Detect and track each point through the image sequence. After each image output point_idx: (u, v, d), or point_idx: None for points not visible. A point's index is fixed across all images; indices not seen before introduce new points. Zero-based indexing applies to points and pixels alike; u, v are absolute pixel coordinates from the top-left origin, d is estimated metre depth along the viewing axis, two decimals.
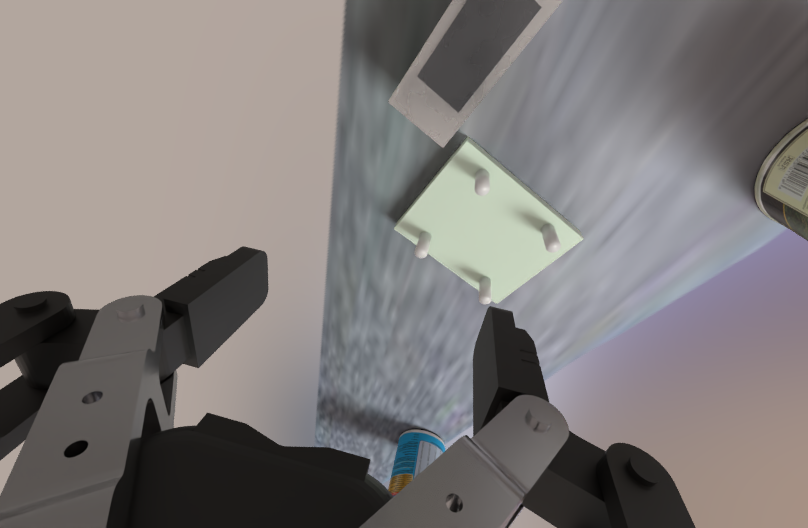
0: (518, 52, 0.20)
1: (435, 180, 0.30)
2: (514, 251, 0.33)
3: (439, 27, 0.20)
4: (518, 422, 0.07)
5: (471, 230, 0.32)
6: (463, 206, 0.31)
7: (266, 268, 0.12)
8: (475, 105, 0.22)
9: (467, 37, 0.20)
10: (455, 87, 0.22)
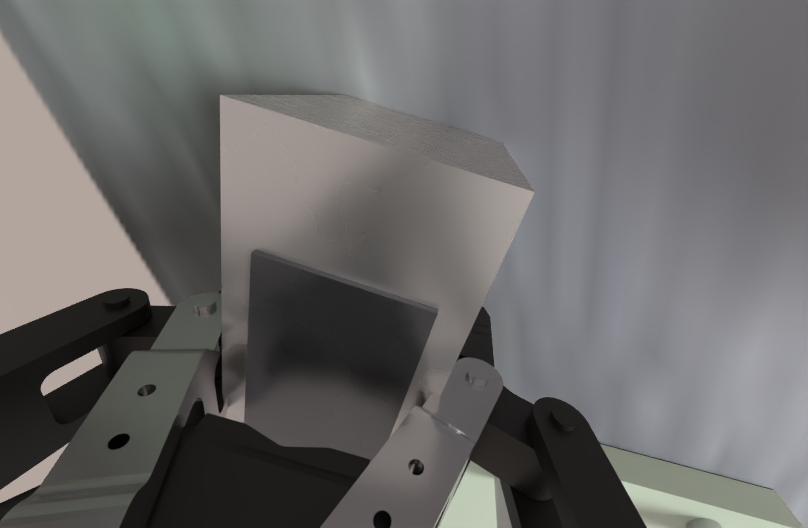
0: None
1: None
2: None
3: (230, 387, 0.08)
4: (460, 383, 0.07)
5: None
6: None
7: None
8: None
9: (293, 397, 0.08)
10: None
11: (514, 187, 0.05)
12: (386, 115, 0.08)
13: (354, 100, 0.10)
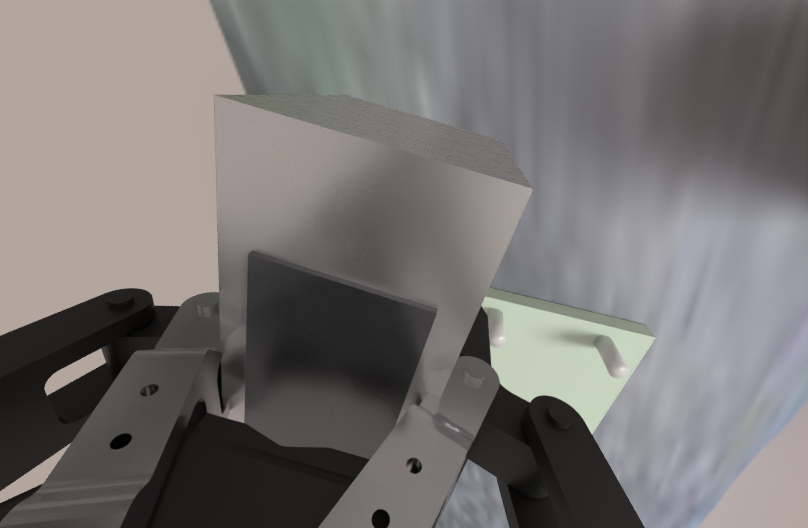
0: None
1: None
2: (577, 376, 0.26)
3: (229, 389, 0.08)
4: (457, 382, 0.08)
5: (513, 370, 0.27)
6: (491, 349, 0.27)
7: None
8: None
9: (293, 399, 0.08)
10: None
11: (512, 184, 0.05)
12: (384, 114, 0.08)
13: (352, 100, 0.10)
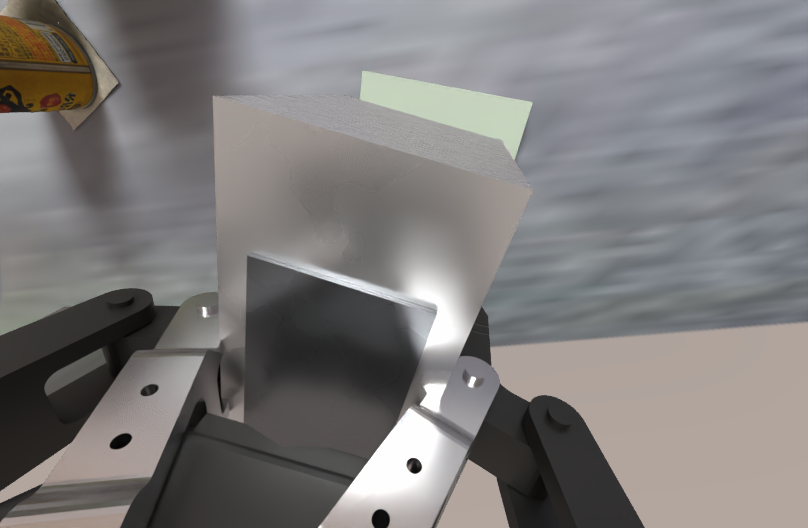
0: None
1: None
2: None
3: (228, 391, 0.08)
4: (457, 381, 0.08)
5: None
6: None
7: None
8: None
9: (292, 400, 0.08)
10: None
11: (512, 185, 0.05)
12: (383, 115, 0.08)
13: (351, 100, 0.10)
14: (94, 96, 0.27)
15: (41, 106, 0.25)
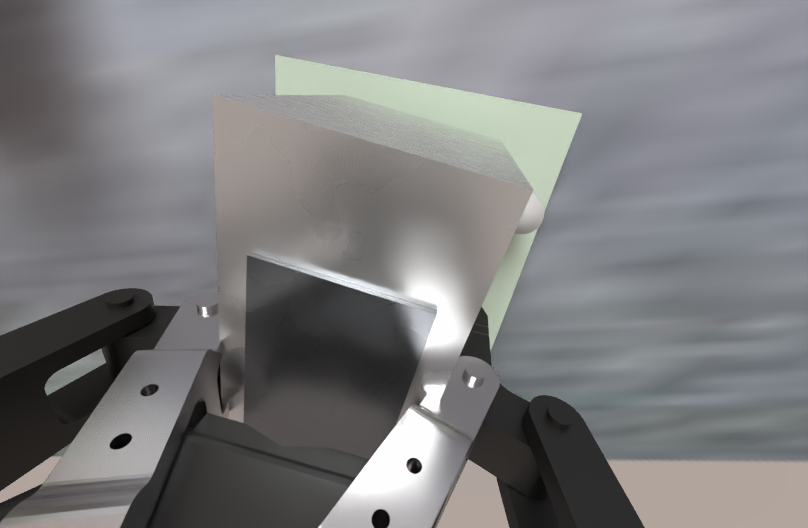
0: None
1: None
2: None
3: (228, 391, 0.08)
4: (457, 382, 0.08)
5: None
6: None
7: None
8: None
9: (292, 400, 0.08)
10: None
11: (512, 185, 0.05)
12: (383, 114, 0.08)
13: (351, 100, 0.10)
14: None
15: None
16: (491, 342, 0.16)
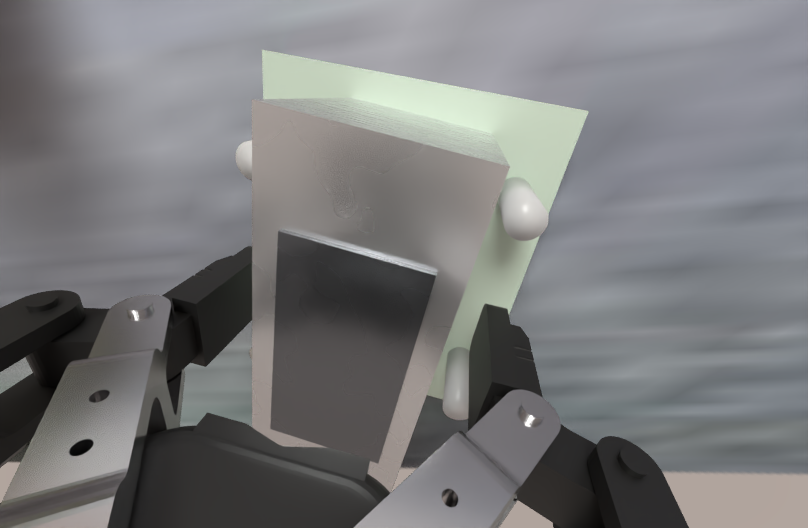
0: (436, 355, 0.08)
1: None
2: None
3: (259, 355, 0.09)
4: (511, 416, 0.07)
5: None
6: None
7: None
8: (404, 445, 0.10)
9: (315, 360, 0.09)
10: (347, 431, 0.10)
11: (493, 163, 0.06)
12: (387, 113, 0.10)
13: (358, 101, 0.11)
14: None
15: None
16: None
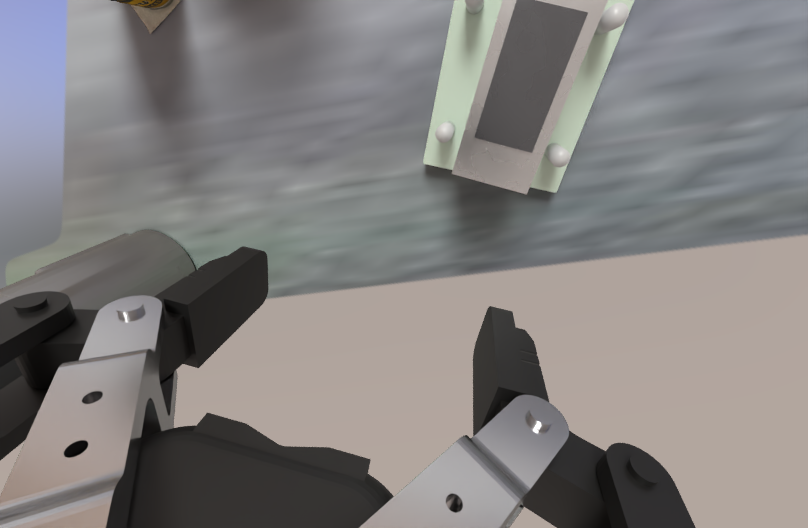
0: (578, 66, 0.18)
1: None
2: None
3: (482, 83, 0.19)
4: (518, 422, 0.07)
5: None
6: None
7: (266, 268, 0.12)
8: (548, 137, 0.20)
9: (514, 78, 0.19)
10: (519, 130, 0.20)
11: None
12: None
13: None
14: None
15: None
16: (574, 143, 0.25)
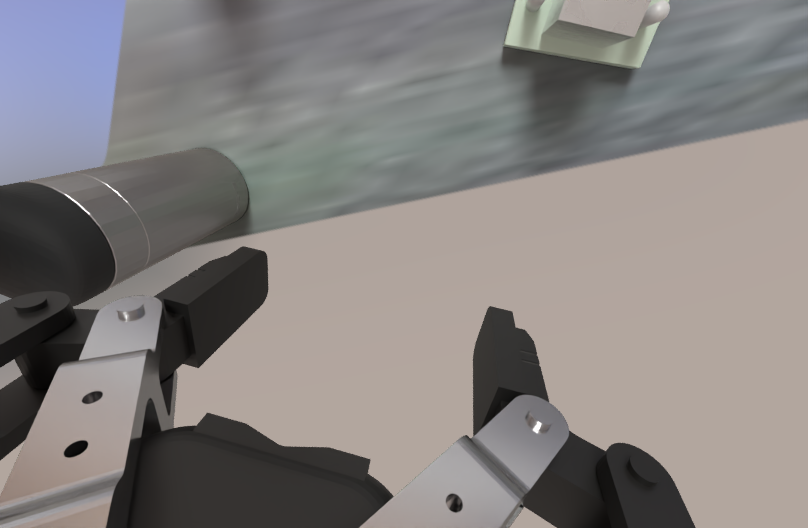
0: None
1: (557, 51, 0.28)
2: None
3: None
4: (518, 422, 0.07)
5: None
6: None
7: (266, 268, 0.12)
8: None
9: None
10: None
11: None
12: None
13: None
14: None
15: None
16: None
